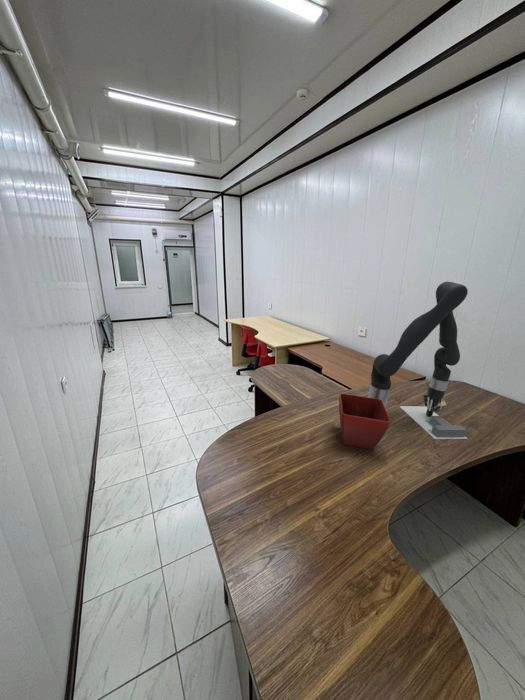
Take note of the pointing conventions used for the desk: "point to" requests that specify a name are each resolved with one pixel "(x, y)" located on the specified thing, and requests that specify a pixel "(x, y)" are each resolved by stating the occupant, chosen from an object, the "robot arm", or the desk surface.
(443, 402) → the hand bell
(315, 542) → the desk surface
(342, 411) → the plant pot
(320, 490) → the desk surface
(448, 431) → the t block
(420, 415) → the runner mat
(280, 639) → the desk surface
